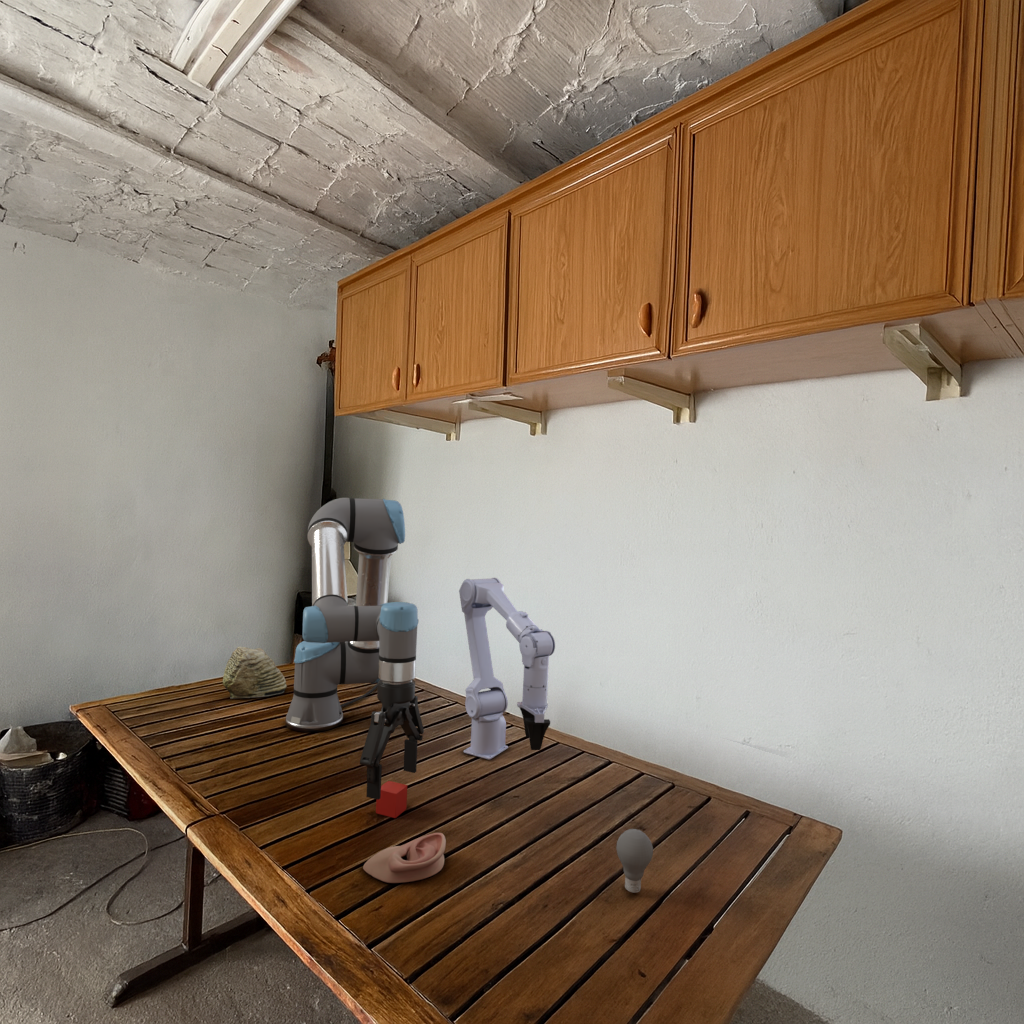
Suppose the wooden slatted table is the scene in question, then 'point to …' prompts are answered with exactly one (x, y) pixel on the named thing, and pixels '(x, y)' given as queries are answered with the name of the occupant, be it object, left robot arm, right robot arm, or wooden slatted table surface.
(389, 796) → the block
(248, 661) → the fossil
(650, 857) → the light bulb
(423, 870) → the anatomical model
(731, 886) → the wooden slatted table surface
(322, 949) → the wooden slatted table surface
